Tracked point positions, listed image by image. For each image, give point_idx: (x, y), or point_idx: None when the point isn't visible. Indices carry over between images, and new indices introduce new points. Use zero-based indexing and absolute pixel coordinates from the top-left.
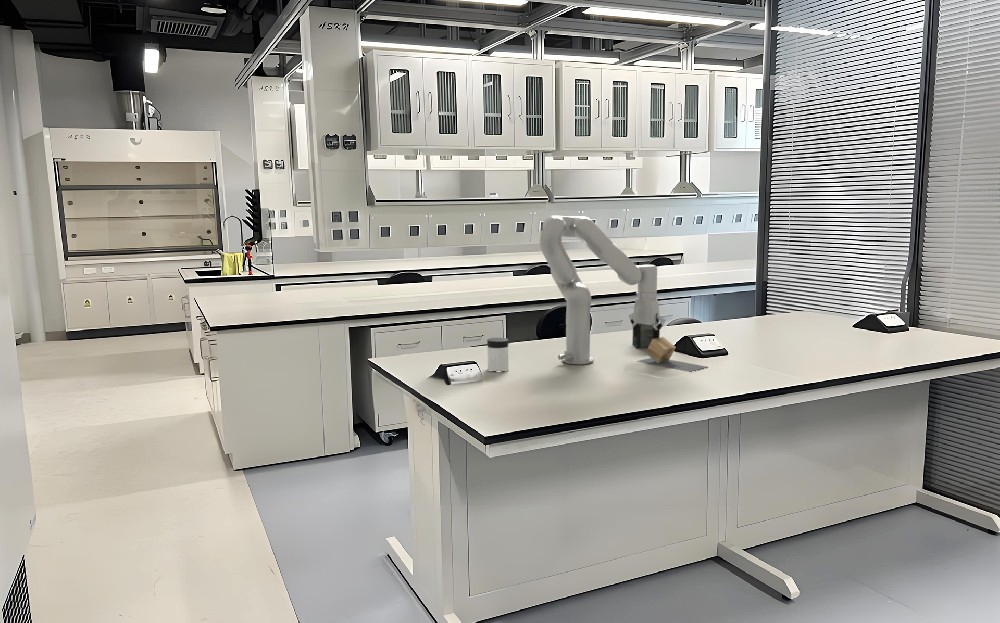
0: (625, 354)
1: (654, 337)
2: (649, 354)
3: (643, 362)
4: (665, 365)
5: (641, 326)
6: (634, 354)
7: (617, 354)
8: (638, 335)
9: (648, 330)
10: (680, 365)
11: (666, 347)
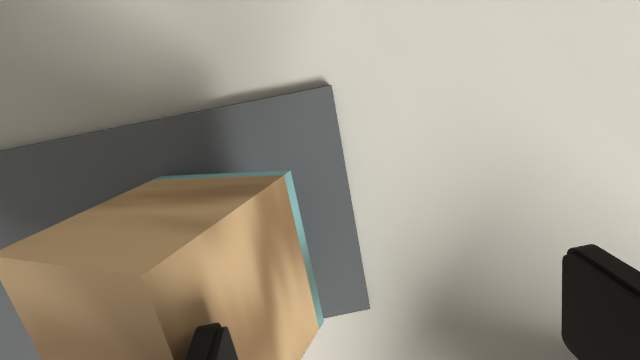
0: (591, 200)
1: (191, 350)
2: (237, 178)
3: (259, 105)
4: (72, 186)
5: None
6: (543, 255)
7: (637, 148)
8: (564, 318)
9: None
10: None
11: (31, 313)
